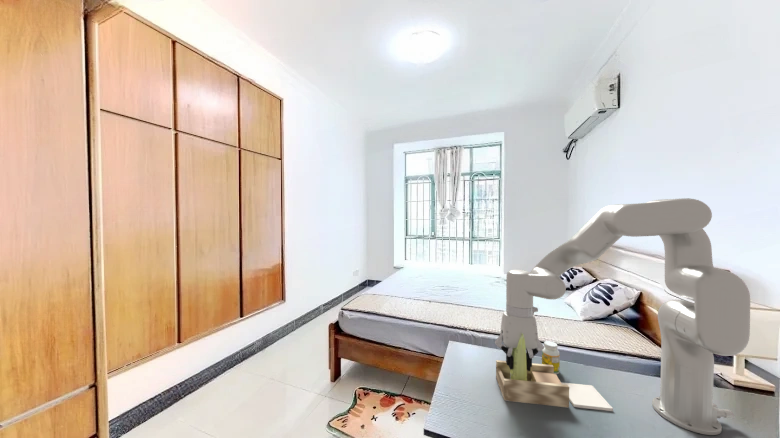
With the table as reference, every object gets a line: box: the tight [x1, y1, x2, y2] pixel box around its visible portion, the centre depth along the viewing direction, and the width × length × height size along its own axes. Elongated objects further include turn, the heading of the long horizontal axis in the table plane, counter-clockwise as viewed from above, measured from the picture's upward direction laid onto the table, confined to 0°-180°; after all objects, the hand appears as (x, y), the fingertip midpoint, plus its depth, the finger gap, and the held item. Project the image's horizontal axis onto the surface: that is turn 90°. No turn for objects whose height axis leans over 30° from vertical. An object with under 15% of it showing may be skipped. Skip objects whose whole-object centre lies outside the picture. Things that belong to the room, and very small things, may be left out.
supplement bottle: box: [541, 340, 561, 375], centre depth 93 cm, size 5×5×10 cm
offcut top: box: [531, 371, 561, 384], centre depth 82 cm, size 7×6×2 cm
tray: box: [495, 359, 570, 408], centre depth 82 cm, size 18×11×6 cm, turn 80°
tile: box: [560, 381, 614, 412], centre depth 80 cm, size 10×10×1 cm
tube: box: [510, 333, 527, 381], centre depth 83 cm, size 6×5×20 cm
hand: (518, 367), depth 83 cm, fingers closed on tube, 4 cm apart
